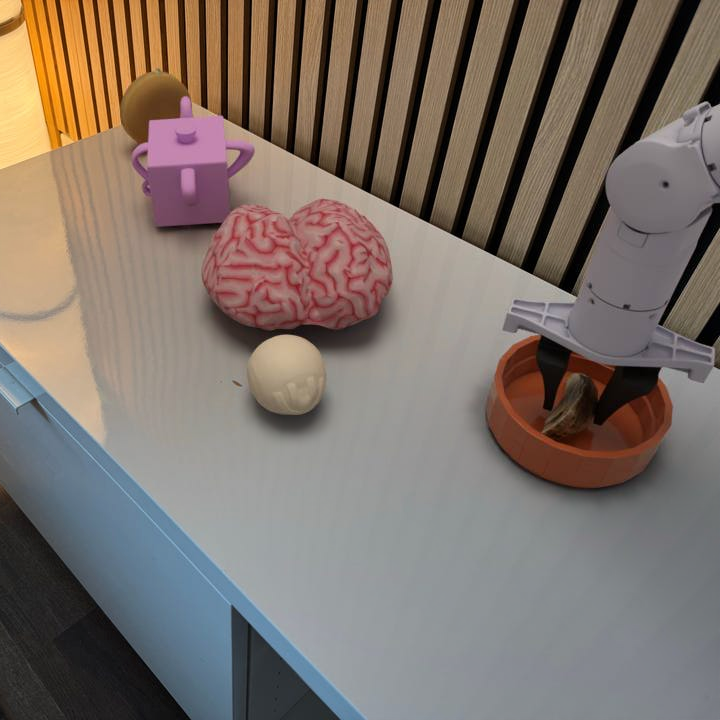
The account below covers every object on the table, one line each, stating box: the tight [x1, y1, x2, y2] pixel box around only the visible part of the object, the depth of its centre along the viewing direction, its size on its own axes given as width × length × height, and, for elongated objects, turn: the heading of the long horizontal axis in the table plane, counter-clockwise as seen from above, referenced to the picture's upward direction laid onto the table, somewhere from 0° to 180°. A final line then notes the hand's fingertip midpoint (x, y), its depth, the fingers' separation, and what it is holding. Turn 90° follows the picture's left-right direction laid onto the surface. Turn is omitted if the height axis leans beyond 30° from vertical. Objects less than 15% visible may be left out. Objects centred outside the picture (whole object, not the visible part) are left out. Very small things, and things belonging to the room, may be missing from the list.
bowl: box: [485, 334, 674, 489], centre depth 63 cm, size 14×14×4 cm
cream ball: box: [246, 334, 327, 416], centre depth 65 cm, size 7×7×7 cm
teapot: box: [130, 96, 256, 228], centre depth 87 cm, size 18×14×10 cm
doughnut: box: [119, 67, 193, 145], centre depth 96 cm, size 9×4×10 cm, turn 122°
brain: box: [201, 198, 394, 331], centre depth 74 cm, size 19×18×10 cm
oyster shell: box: [542, 373, 598, 441], centre depth 63 cm, size 6×4×10 cm
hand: (573, 409), depth 63 cm, fingers closed on oyster shell, 3 cm apart
